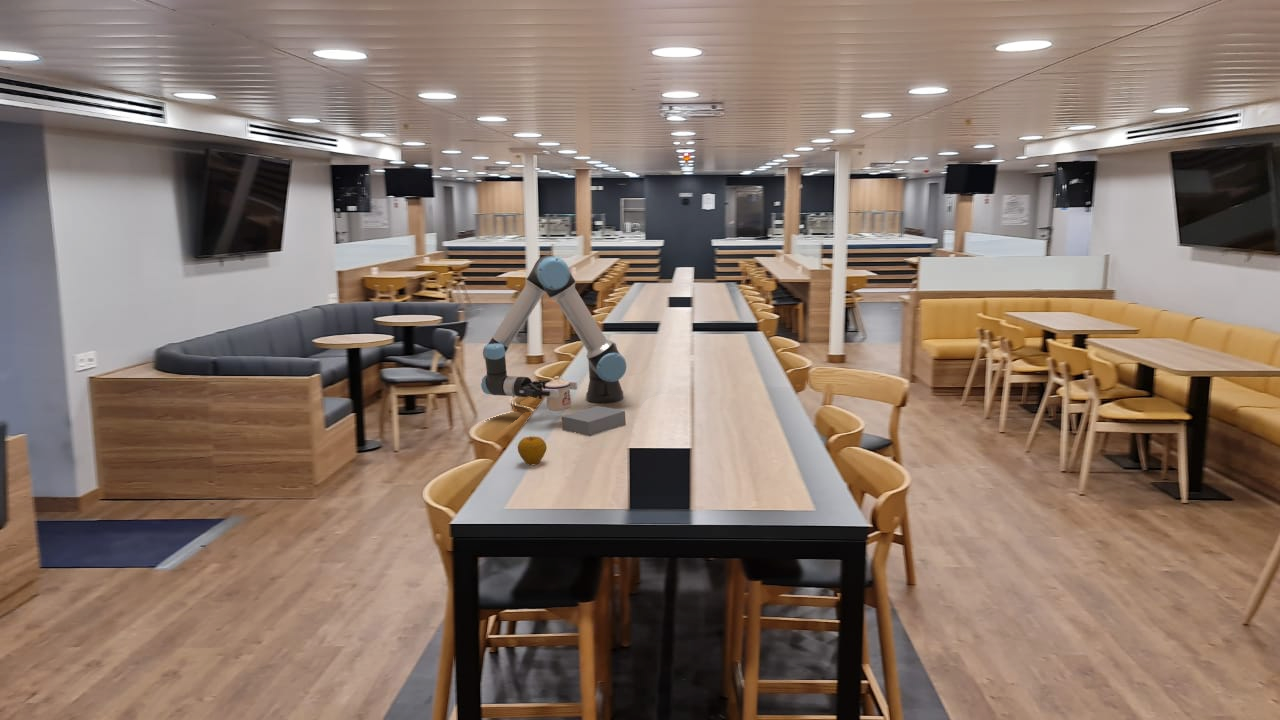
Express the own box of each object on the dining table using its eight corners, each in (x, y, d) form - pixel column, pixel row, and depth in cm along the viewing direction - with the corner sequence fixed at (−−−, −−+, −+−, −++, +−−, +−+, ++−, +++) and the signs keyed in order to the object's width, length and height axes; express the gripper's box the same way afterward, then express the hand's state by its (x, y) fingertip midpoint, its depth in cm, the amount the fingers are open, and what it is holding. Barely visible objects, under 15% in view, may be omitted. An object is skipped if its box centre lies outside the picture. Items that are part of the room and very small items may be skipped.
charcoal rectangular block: (598, 418, 328) (597, 405, 327) (625, 424, 318) (624, 411, 317) (562, 429, 315) (561, 416, 314) (589, 436, 305) (588, 422, 304)
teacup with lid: (567, 411, 316) (564, 379, 314) (543, 411, 318) (540, 379, 316) (576, 402, 327) (574, 372, 325) (553, 402, 329) (551, 372, 327)
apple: (546, 458, 282) (544, 431, 281) (548, 466, 274) (546, 438, 272) (518, 460, 281) (516, 433, 279) (519, 469, 272) (517, 441, 270)
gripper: (537, 389, 341) (585, 392, 331) (500, 404, 320) (549, 407, 310) (536, 370, 339) (584, 372, 329) (498, 384, 319) (548, 387, 308)
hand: (567, 389), depth 319 cm, fingers closed on teacup with lid, 12 cm apart
